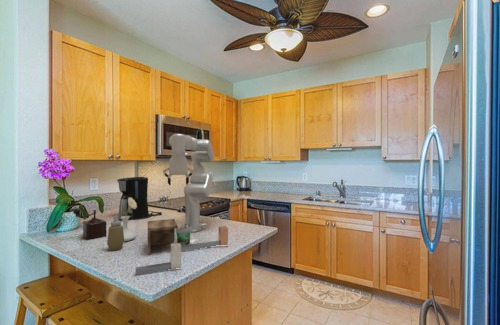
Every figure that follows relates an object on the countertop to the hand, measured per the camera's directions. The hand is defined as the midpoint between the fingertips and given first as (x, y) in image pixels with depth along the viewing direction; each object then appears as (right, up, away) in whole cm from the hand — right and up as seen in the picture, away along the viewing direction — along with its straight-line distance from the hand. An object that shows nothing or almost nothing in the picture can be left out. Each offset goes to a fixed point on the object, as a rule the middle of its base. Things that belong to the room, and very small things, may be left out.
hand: (178, 184), depth 140 cm
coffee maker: (-51, -33, +60) cm, 85 cm away
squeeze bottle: (-30, -33, -12) cm, 46 cm away
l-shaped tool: (+3, -33, -37) cm, 50 cm away
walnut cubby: (-6, -33, -10) cm, 35 cm away
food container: (+5, -34, -3) cm, 34 cm away
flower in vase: (-32, -33, +4) cm, 46 cm away
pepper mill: (-57, -33, +7) cm, 66 cm away
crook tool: (+16, -33, -6) cm, 37 cm away
